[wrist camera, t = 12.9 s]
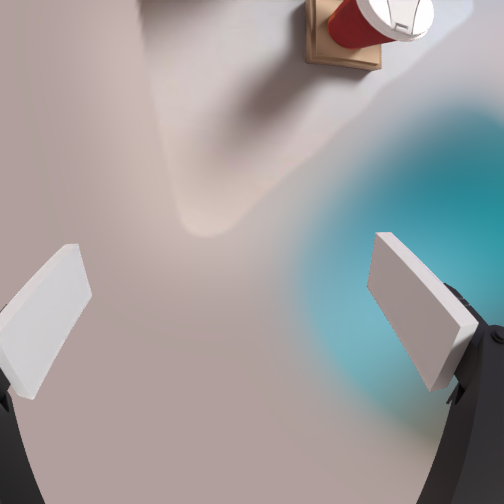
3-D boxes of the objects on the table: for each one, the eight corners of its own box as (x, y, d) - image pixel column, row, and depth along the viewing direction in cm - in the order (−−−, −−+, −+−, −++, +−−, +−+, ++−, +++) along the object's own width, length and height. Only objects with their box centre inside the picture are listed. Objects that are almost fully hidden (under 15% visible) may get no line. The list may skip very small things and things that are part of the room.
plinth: (304, 1, 33) (311, -7, 29) (370, 12, 33) (381, 5, 29) (305, 62, 37) (312, 58, 34) (371, 70, 37) (383, 68, 34)
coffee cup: (375, 63, 34) (438, 50, 20) (317, 51, 33) (360, 25, 20) (377, 10, 30) (436, -19, 16) (319, -4, 29) (360, -48, 16)
